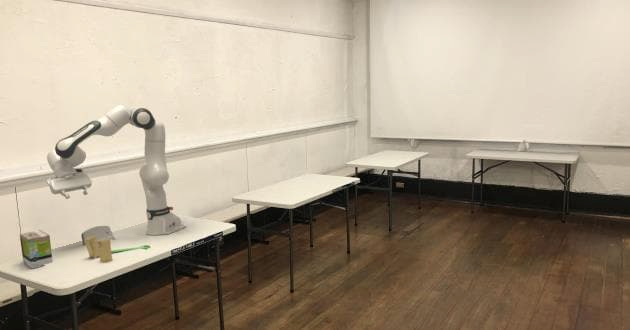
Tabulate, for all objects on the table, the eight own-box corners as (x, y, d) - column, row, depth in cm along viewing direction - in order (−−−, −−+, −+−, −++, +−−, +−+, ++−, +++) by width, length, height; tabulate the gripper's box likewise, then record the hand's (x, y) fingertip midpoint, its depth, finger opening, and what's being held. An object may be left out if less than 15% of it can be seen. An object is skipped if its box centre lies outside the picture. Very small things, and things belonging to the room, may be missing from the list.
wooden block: (97, 253, 255) (91, 235, 252) (101, 254, 253) (95, 236, 250) (89, 257, 252) (84, 239, 249) (94, 258, 250) (88, 240, 247)
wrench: (151, 250, 263) (149, 247, 268) (151, 246, 263) (149, 244, 268) (98, 256, 252) (97, 253, 256) (98, 252, 251) (97, 249, 256)
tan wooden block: (107, 258, 249) (105, 238, 247) (112, 259, 247) (109, 240, 245) (100, 260, 246) (97, 241, 244) (104, 262, 243) (102, 242, 242)
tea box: (54, 263, 249) (50, 234, 246) (31, 269, 242) (27, 239, 239) (44, 256, 259) (40, 228, 257) (22, 262, 253) (18, 233, 250)
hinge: (87, 248, 271) (81, 230, 271) (83, 249, 274) (78, 231, 274) (116, 239, 284) (110, 222, 284) (112, 240, 287) (106, 223, 287)
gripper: (46, 175, 256) (58, 196, 251) (86, 168, 271) (97, 188, 267) (43, 183, 259) (55, 204, 255) (83, 176, 275) (94, 195, 270)
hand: (77, 196), depth 261 cm, fingers open, 8 cm apart
